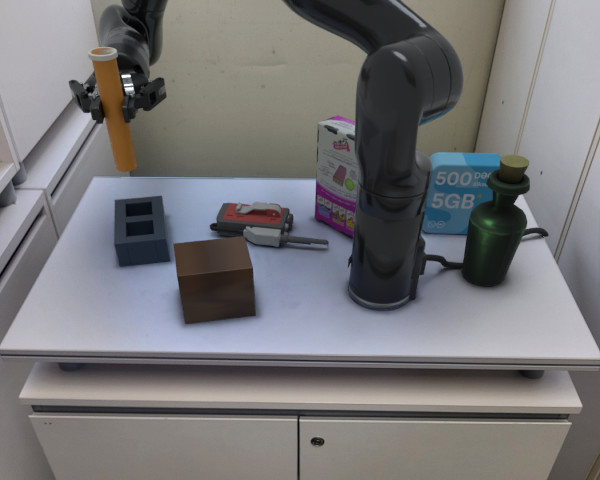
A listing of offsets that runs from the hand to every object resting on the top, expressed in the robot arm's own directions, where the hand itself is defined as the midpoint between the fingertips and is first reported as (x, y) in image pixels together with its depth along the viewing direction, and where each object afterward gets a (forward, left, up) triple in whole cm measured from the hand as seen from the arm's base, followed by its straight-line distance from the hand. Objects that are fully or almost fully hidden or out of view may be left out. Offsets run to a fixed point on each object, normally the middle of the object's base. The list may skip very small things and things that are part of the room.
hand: (112, 115), depth 77 cm
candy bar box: (-34, -4, -22) cm, 41 cm away
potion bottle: (-51, +14, -22) cm, 58 cm away
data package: (-52, 0, -22) cm, 57 cm away
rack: (0, -6, -22) cm, 23 cm away
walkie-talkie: (-21, -4, -22) cm, 31 cm away
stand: (-10, +13, -22) cm, 28 cm away
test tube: (0, -3, -8) cm, 9 cm away
